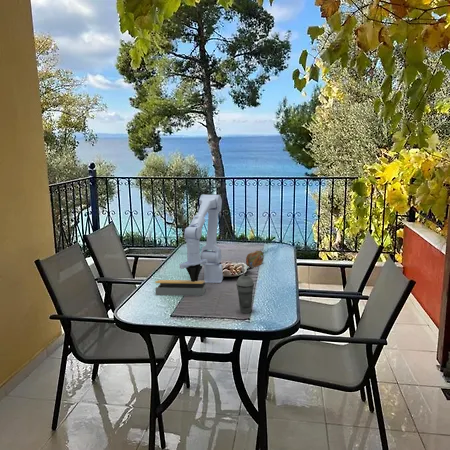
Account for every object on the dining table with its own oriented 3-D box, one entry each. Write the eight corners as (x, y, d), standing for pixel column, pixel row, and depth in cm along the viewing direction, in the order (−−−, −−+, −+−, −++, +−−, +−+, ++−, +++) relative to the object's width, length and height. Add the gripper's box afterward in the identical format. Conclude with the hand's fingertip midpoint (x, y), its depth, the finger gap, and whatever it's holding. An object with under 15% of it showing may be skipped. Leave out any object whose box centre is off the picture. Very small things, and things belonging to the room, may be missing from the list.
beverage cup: (249, 315, 172) (248, 267, 168) (233, 312, 176) (232, 265, 172) (257, 309, 178) (257, 263, 175) (242, 306, 182) (241, 261, 178)
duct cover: (205, 282, 205) (205, 280, 205) (202, 283, 196) (202, 281, 196) (160, 281, 207) (160, 279, 207) (155, 283, 198) (155, 281, 198)
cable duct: (205, 289, 205) (205, 282, 205) (202, 295, 196) (202, 288, 196) (160, 288, 208) (160, 281, 207) (155, 294, 199) (155, 287, 198)
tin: (249, 269, 237) (249, 254, 235) (245, 268, 238) (244, 254, 237) (264, 263, 248) (264, 249, 247) (259, 262, 250) (259, 248, 249)
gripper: (201, 248, 204) (201, 276, 206) (175, 253, 195) (176, 282, 197) (210, 251, 198) (210, 279, 201) (184, 256, 189) (185, 285, 192)
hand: (194, 280), depth 198 cm, fingers closed
